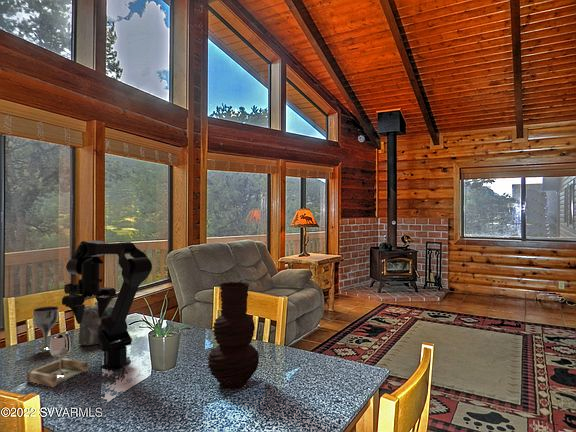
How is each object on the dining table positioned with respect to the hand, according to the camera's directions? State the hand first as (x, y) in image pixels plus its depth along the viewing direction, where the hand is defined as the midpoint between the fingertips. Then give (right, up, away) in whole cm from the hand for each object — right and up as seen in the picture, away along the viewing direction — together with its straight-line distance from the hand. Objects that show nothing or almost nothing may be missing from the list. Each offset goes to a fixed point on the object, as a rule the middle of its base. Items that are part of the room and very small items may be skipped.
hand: (90, 320), depth 136 cm
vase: (+53, -14, -20) cm, 59 cm away
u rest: (-1, -13, -16) cm, 21 cm away
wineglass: (-1, -13, -16) cm, 21 cm away
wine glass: (-21, -13, +8) cm, 26 cm away
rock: (-5, -13, +21) cm, 25 cm away
